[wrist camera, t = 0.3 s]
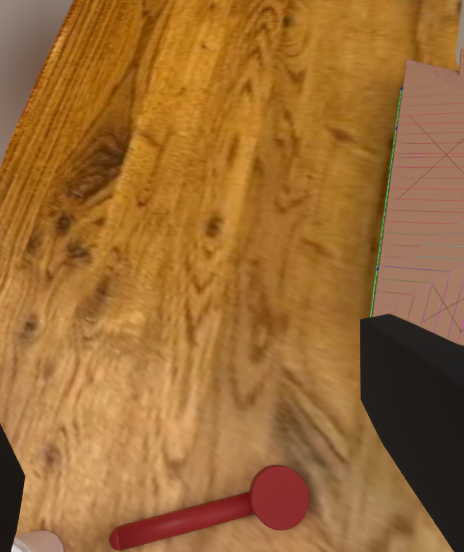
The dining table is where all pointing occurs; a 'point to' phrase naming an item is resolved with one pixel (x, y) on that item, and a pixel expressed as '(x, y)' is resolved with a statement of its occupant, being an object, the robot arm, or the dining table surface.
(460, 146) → the house
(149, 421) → the dining table surface
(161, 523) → the spoon
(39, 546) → the smoothie
